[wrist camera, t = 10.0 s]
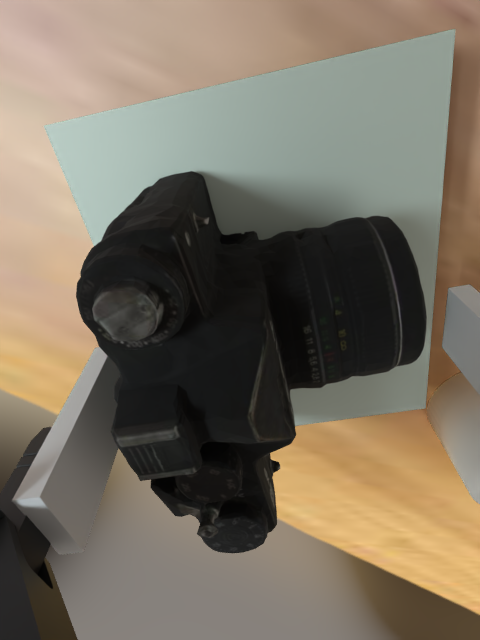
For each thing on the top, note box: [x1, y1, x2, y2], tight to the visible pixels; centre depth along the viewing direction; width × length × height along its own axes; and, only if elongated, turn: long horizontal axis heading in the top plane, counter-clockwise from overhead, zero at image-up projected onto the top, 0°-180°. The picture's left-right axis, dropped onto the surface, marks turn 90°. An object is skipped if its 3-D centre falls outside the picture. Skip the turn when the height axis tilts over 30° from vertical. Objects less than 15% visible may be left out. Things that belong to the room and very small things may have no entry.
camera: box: [76, 171, 427, 553], centre depth 15 cm, size 14×11×10 cm
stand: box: [44, 29, 455, 426], centre depth 20 cm, size 19×16×3 cm
